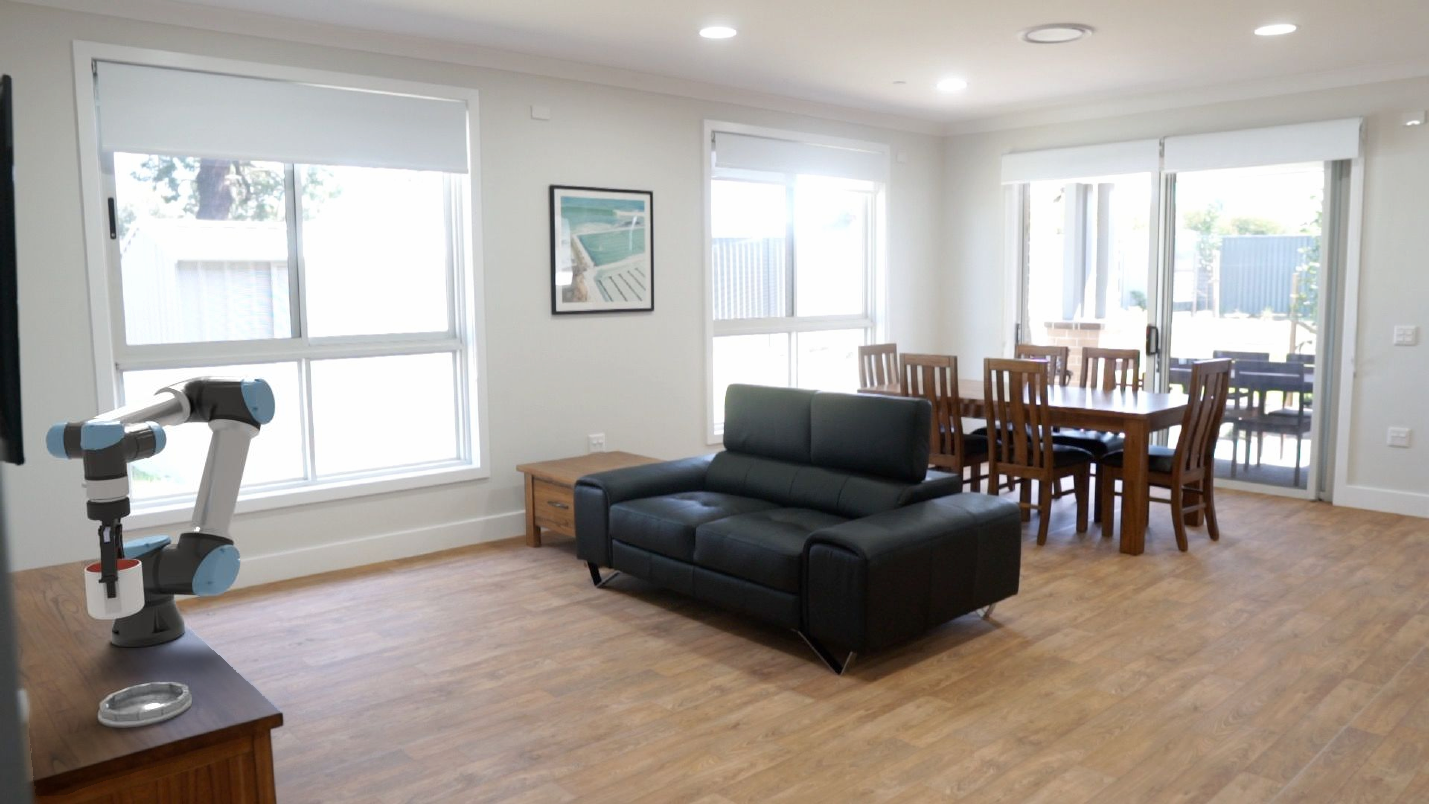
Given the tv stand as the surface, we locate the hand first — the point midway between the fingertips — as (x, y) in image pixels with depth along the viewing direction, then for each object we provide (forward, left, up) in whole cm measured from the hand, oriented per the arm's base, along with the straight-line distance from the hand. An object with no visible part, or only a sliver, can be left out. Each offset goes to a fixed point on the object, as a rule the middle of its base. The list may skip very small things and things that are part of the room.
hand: (116, 604), depth 207 cm
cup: (0, 0, -2) cm, 2 cm away
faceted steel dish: (+12, +10, -17) cm, 24 cm away
